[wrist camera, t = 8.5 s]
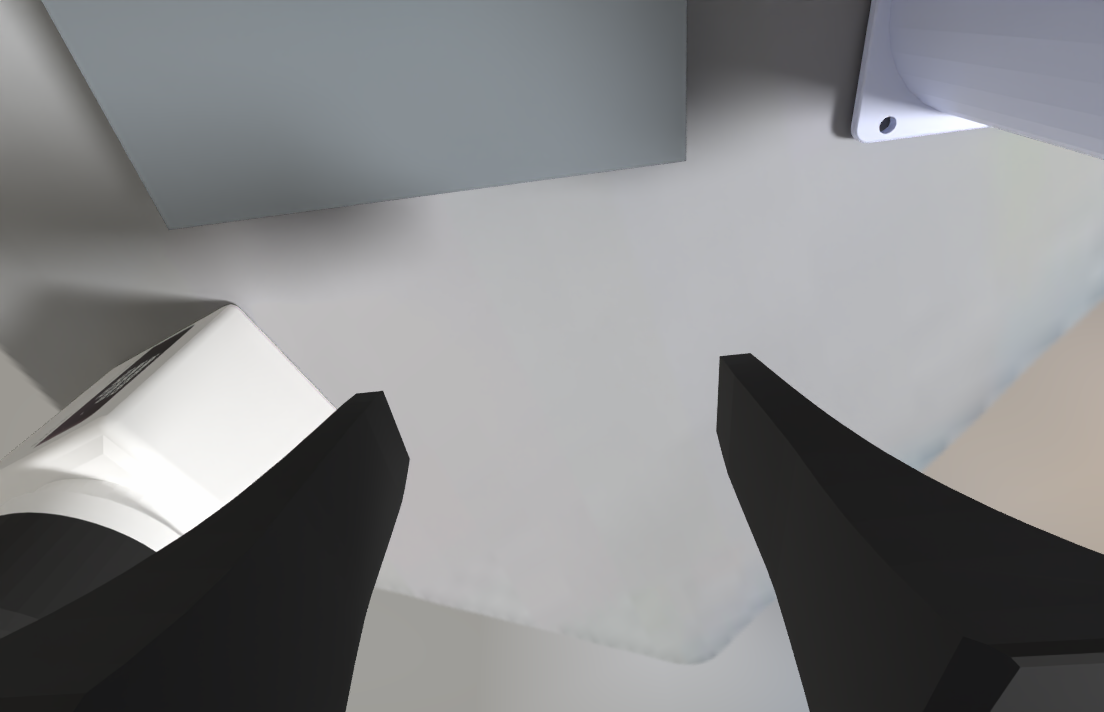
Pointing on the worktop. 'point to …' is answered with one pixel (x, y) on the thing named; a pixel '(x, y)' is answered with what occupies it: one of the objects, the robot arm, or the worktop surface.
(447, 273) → the worktop surface
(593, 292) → the worktop surface
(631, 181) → the worktop surface
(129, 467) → the container
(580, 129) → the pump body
